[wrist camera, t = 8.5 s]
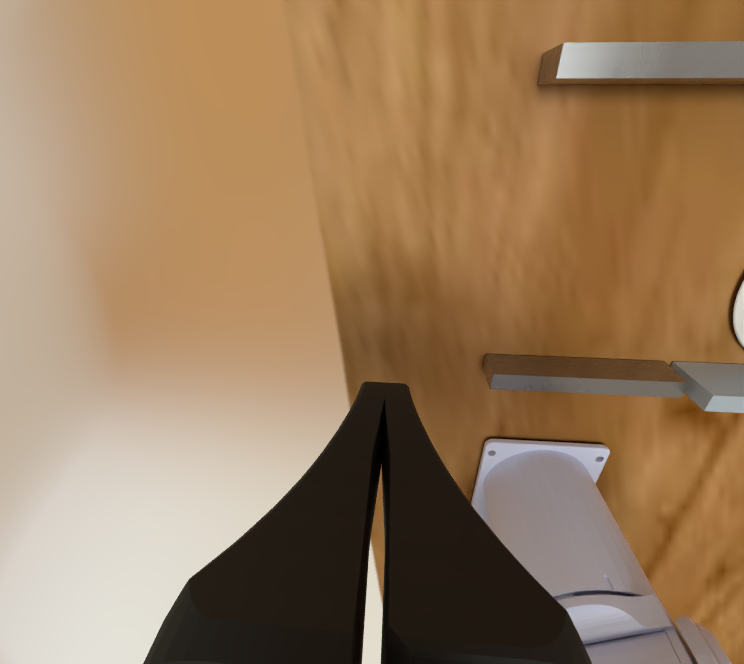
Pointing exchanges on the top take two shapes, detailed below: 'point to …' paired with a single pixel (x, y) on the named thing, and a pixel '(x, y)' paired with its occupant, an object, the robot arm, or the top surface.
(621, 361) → the slot rails
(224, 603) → the robot arm
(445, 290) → the top surface
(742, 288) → the teacup
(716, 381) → the blue-gray u-shaped frame
